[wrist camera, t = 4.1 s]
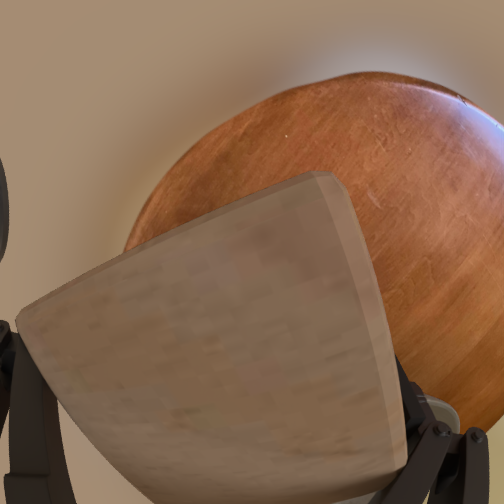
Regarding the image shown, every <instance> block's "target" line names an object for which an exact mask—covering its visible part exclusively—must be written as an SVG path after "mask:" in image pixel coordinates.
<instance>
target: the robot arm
mask: <svg viewBox="0 0 504 504" xmlns="http://www.w3.org/2000/svg"><path fill="white" fill-rule="evenodd" d="M15 322H16V319H15ZM16 327H17V325H16ZM17 331H18V330H17ZM394 355H395V353H394ZM395 360H396V365H397V371H398V377H399V383H400V390H401V396H402V404H403V412H404V420H405V430H406V441H407V455H408V461H407V464H406V466H405V467H404V468H403V469H402V471H401V472H400V473H399V474H398V475H397V477H396V478H395V479H394V480H393V481H392V482H391V483H390V484H389V485H387V486H386V487H385V488H384V489H382V490H380V491H377V492H376V494H375V495H374V496H373V498H372V499H371V500H370V501H369V503H368V504H422V503H423V502H424V500H425V498H426V496H427V494H428V492H429V490H430V493H429V497H428V502H427V504H488V503H489V451H488V439H487V435H486V434H485V432H484V431H483V430H481V429H479V428H477V427H471V428H469V429H468V430H467V431H466V433H465V434H464V435H462V434H456V433H453V432H452V429H451V428H450V427H449V425H447V424H446V423H444V422H442V421H437V420H436V418H435V415H434V413H433V411H432V409H431V407H430V405H429V403H427V399H426V397H424V394H423V392H422V390H421V388H420V387H419V386H418V385H417V384H416V383H415V382H409V380H408V378H407V376H406V374H405V372H404V370H403V368H402V366H401V364H400V362H399V361H398V359H397V357H396V355H395ZM9 407H10V408H9ZM9 409H10V410H9ZM8 410H9V457H10V473H8V474H5V476H4V490H5V497H6V504H77V503H76V500H75V497H74V493H73V490H72V486H71V482H70V478H69V474H68V469H67V465H66V460H65V455H64V449H63V444H62V437H61V430H60V422H59V413H58V403H57V398H56V396H55V395H54V393H53V392H52V390H51V389H50V387H49V386H48V384H47V382H46V381H45V379H44V378H43V376H42V374H41V373H40V371H39V369H38V368H37V366H36V364H35V362H34V361H33V359H32V357H31V355H30V353H29V352H28V350H27V348H26V346H25V344H24V342H23V340H22V338H21V336H20V334H19V332H18V333H14V332H11V330H10V326H9V323H8V322H7V321H4V320H0V437H1V433H2V429H3V426H4V423H5V420H6V416H7V413H8Z"/></svg>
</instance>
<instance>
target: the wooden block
mask: <svg viewBox="0 0 504 504" xmlns="http://www.w3.org/2000/svg"><path fill="white" fill-rule="evenodd" d="M16 325H17V330H18V332H19V334H20V336H21V338H22V340H23V342H24V344H25V346H26V348H27V350H28V352H29V353H30V355H31V357H32V359H33V361H34V362H35V364H36V366H37V368H38V369H39V371H40V373H41V374H42V376H43V378H44V379H45V381H46V382H47V384H48V386H49V387H50V389H51V390H52V392H53V393H54V395H55V396H56V398H57V399H58V400H59V402H60V403H61V405H62V406H63V407H64V409H65V410H66V412H67V413H68V414H69V416H70V417H71V418H72V420H73V421H74V422H75V424H76V425H77V426H78V427H79V428H80V430H81V431H82V432H83V433H84V435H85V436H86V437H87V438H88V439H89V441H90V442H91V443H92V444H93V445H94V446H95V448H96V449H97V450H98V451H99V452H100V453H101V454H102V455H103V456H104V457H105V458H106V460H108V462H109V463H110V464H111V465H112V466H113V467H114V468H115V469H116V470H117V471H118V472H119V473H121V475H122V476H124V478H126V479H127V480H128V481H129V482H130V483H131V484H132V485H133V486H134V487H135V488H136V489H137V490H139V491H140V492H141V493H142V494H143V495H144V496H146V497H147V498H148V499H149V500H150V501H152V502H153V503H154V504H332V503H337V502H341V501H345V500H349V499H353V498H356V497H360V496H364V495H367V494H370V493H373V492H376V491H380V490H382V489H384V488H385V487H386V486H387V485H389V484H390V483H391V482H392V481H393V480H394V479H395V478H396V477H397V475H398V474H399V473H400V472H401V471H402V469H403V468H404V467H405V466H406V464H407V461H408V455H407V441H406V430H405V420H404V412H403V404H402V396H401V390H400V383H399V377H398V371H397V365H396V360H395V355H394V350H393V345H392V340H391V335H390V331H389V326H388V322H387V318H386V313H385V309H384V305H383V301H382V297H381V294H380V290H379V286H378V283H377V279H376V275H375V272H374V269H373V265H372V262H371V259H370V255H369V252H368V249H367V246H366V243H365V240H364V236H363V233H362V231H361V228H360V225H359V222H358V219H357V216H356V213H355V210H354V208H353V205H352V202H351V200H350V197H349V194H348V192H347V189H346V187H345V186H344V185H343V184H342V183H341V182H340V180H339V179H338V178H337V177H336V176H335V175H334V174H333V173H332V172H329V171H308V172H306V173H303V174H300V175H298V176H295V177H293V178H290V179H288V180H285V181H283V182H280V183H278V184H275V185H273V186H270V187H268V188H265V189H263V190H260V191H258V192H256V193H253V194H251V195H248V196H246V197H244V198H241V199H239V200H237V201H234V202H232V203H230V204H227V205H225V206H223V207H221V208H218V209H216V210H214V211H211V212H209V213H207V214H205V215H202V216H200V217H198V218H196V219H194V220H191V221H189V222H187V223H185V224H183V225H181V226H178V227H176V228H174V229H172V230H170V231H168V232H166V233H164V234H161V235H159V236H157V237H155V238H153V239H151V240H149V241H147V242H145V243H143V244H141V245H139V246H137V247H135V248H133V249H131V250H129V251H127V252H125V253H123V254H121V255H119V256H117V257H115V258H113V259H111V260H109V261H107V262H105V263H103V264H101V265H100V266H98V267H96V268H94V269H92V270H90V271H88V272H86V273H84V274H83V275H81V276H79V277H77V278H75V279H73V280H72V281H70V282H68V283H66V284H64V285H62V286H61V287H59V288H57V289H55V290H54V291H52V292H50V293H48V294H47V295H45V296H43V297H41V298H40V299H38V300H36V301H35V302H33V303H31V304H29V305H28V306H26V307H24V308H23V309H22V310H21V311H20V313H19V314H18V315H17V317H16Z"/></svg>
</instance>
